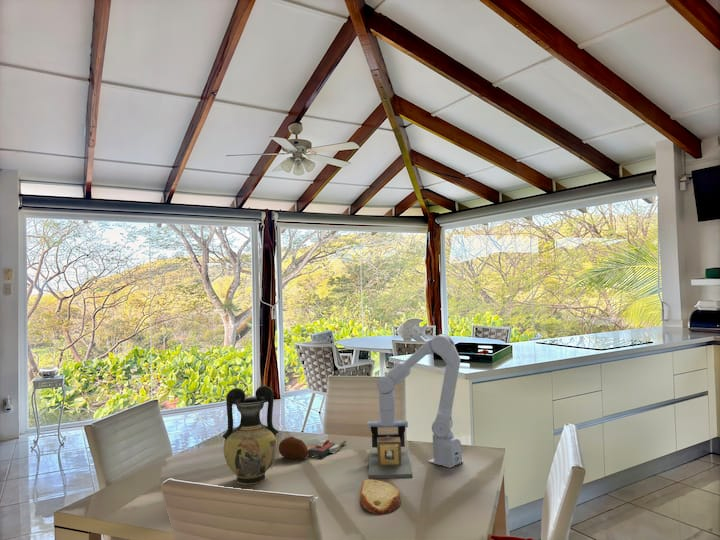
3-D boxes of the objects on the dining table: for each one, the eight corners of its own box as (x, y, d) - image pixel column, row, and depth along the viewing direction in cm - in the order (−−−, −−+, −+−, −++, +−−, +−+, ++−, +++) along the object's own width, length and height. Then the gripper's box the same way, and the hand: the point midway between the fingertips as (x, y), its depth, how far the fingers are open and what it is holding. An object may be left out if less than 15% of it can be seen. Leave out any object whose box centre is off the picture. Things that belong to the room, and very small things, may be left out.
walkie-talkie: (326, 460, 174) (348, 445, 192) (326, 448, 174) (347, 434, 193) (305, 458, 177) (328, 443, 196) (305, 446, 177) (328, 432, 196)
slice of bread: (370, 483, 150) (370, 471, 150) (419, 496, 138) (419, 483, 139) (332, 503, 136) (331, 489, 136) (383, 519, 124) (382, 504, 125)
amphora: (226, 493, 144) (225, 393, 147) (220, 476, 160) (219, 385, 162) (283, 484, 151) (281, 387, 153) (272, 468, 166) (271, 380, 169)
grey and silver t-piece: (372, 446, 178) (371, 434, 178) (404, 445, 178) (404, 433, 178) (371, 465, 157) (371, 451, 157) (408, 464, 156) (407, 450, 157)
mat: (369, 453, 179) (369, 450, 179) (407, 452, 179) (407, 449, 179) (368, 478, 153) (368, 475, 154) (412, 477, 153) (412, 474, 153)
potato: (304, 462, 171) (303, 440, 172) (274, 461, 174) (273, 439, 174) (311, 456, 179) (310, 434, 179) (282, 455, 181) (281, 433, 182)
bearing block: (377, 459, 168) (377, 437, 169) (400, 459, 168) (399, 436, 169) (377, 465, 162) (377, 442, 163) (401, 465, 162) (400, 441, 163)
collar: (380, 463, 160) (380, 444, 161) (398, 462, 160) (397, 444, 160) (380, 464, 159) (380, 446, 159) (398, 464, 159) (398, 445, 159)
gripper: (406, 406, 177) (408, 444, 176) (367, 407, 178) (368, 445, 177) (407, 410, 170) (409, 449, 169) (367, 411, 171) (368, 450, 170)
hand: (388, 447), depth 172 cm, fingers open, 7 cm apart
